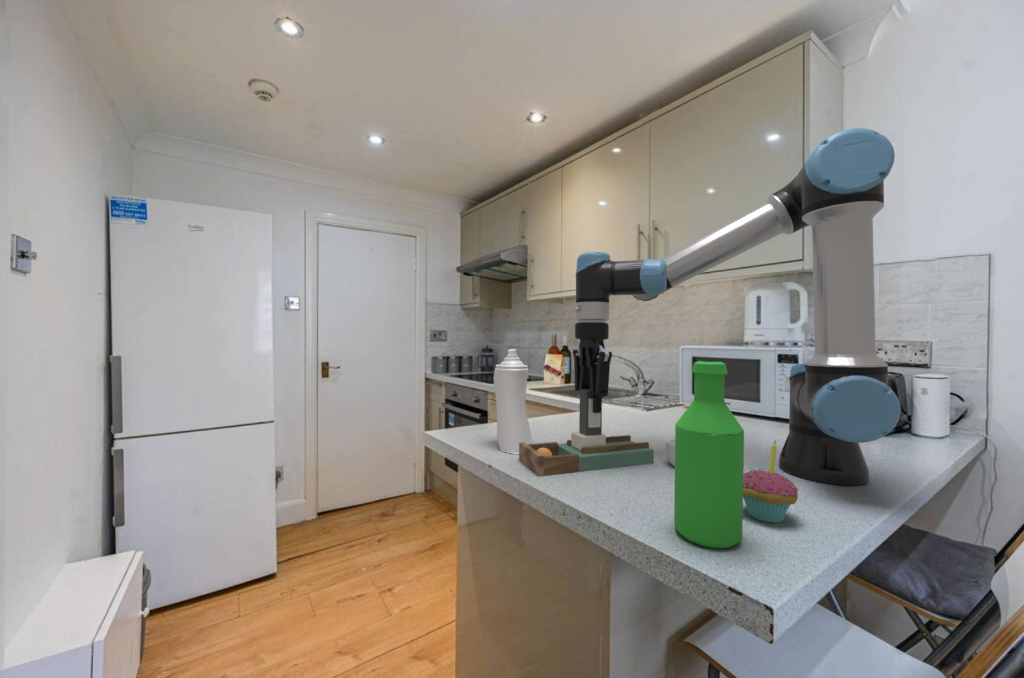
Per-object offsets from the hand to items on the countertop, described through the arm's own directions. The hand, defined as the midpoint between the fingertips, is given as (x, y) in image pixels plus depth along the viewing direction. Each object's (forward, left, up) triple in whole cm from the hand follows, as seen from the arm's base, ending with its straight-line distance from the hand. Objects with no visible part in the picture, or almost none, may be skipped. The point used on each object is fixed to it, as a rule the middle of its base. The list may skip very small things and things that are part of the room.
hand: (589, 425), depth 93 cm
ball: (0, +11, -6) cm, 13 cm away
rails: (0, -5, -5) cm, 7 cm away
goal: (0, +10, -8) cm, 13 cm away
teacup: (-10, -19, -9) cm, 23 cm away
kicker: (0, 0, -5) cm, 5 cm away
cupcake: (-34, -12, -9) cm, 37 cm away
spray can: (+16, +13, -9) cm, 22 cm away
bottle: (-36, +2, -9) cm, 37 cm away
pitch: (0, -4, -8) cm, 9 cm away
